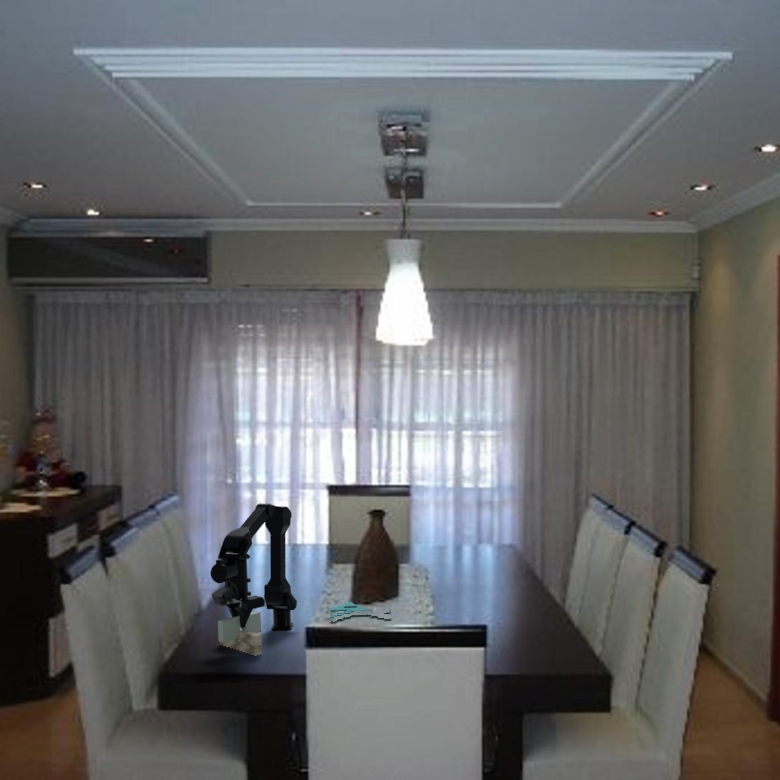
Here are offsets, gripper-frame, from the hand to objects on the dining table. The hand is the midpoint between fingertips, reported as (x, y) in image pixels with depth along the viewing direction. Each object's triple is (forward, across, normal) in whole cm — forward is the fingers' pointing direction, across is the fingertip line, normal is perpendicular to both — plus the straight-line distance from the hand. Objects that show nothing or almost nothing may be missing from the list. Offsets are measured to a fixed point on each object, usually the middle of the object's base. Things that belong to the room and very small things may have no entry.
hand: (239, 627), depth 293 cm
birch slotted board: (+7, 0, 0) cm, 7 cm away
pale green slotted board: (+3, 0, 0) cm, 3 cm away
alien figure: (+8, -2, +52) cm, 52 cm away
